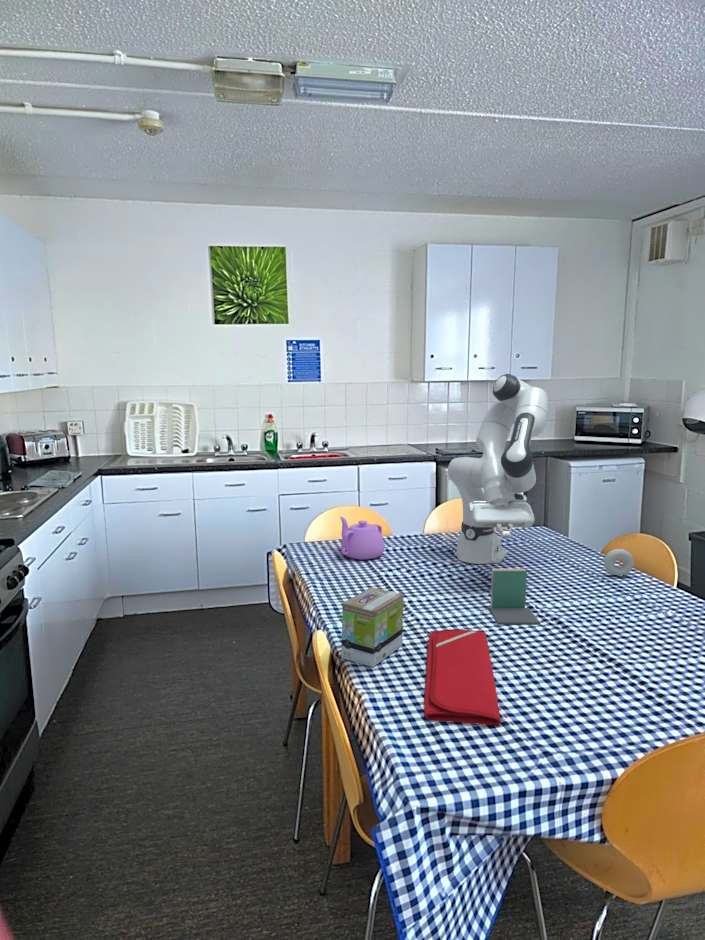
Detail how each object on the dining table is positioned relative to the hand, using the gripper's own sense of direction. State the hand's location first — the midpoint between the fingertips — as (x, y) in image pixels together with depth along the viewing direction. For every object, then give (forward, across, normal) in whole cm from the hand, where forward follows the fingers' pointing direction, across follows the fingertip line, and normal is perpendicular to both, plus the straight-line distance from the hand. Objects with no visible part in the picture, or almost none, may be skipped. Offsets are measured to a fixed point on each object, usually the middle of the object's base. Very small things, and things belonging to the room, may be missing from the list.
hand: (506, 537), depth 201 cm
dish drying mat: (+52, -27, -24) cm, 64 cm away
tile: (+22, -2, +5) cm, 23 cm away
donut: (+3, +45, +23) cm, 51 cm away
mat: (+27, -3, 0) cm, 27 cm away
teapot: (-20, -44, +47) cm, 67 cm away
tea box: (+42, -46, -14) cm, 64 cm away
